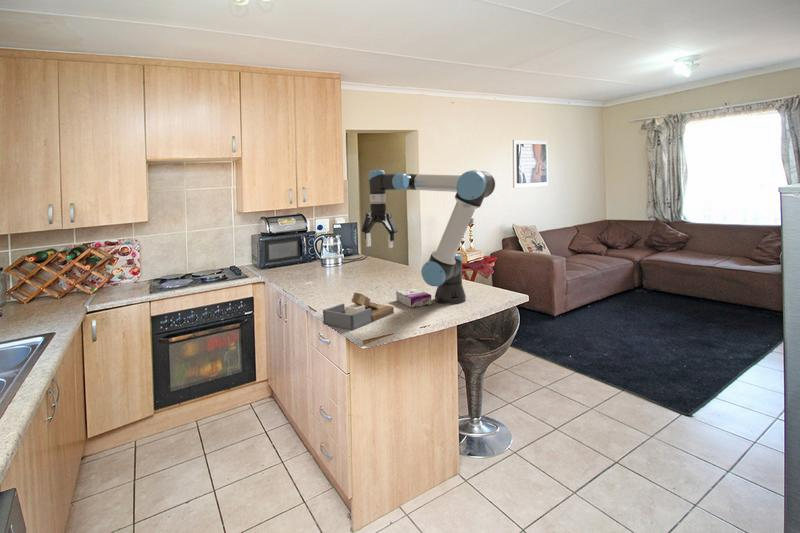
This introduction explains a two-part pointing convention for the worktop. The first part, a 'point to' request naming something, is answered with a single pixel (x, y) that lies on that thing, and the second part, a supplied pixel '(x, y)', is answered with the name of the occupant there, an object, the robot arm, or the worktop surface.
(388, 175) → the robot arm
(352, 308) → the tile
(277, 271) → the worktop surface
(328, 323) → the tray
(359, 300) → the scraper
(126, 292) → the worktop surface
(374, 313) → the board
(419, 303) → the candy bar box
